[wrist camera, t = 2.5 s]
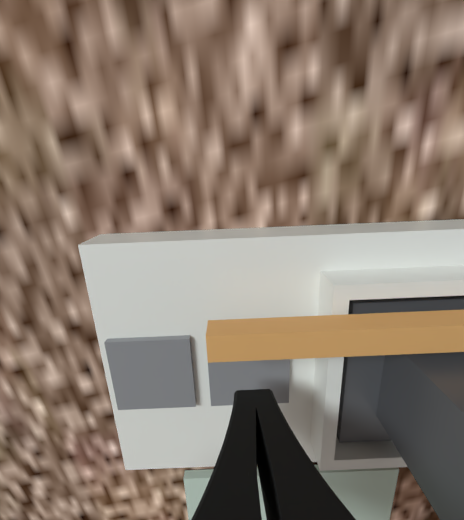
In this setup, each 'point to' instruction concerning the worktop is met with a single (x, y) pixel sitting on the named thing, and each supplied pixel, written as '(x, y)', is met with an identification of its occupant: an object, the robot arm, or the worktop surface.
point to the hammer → (335, 336)
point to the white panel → (245, 307)
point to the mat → (340, 481)
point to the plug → (411, 406)
